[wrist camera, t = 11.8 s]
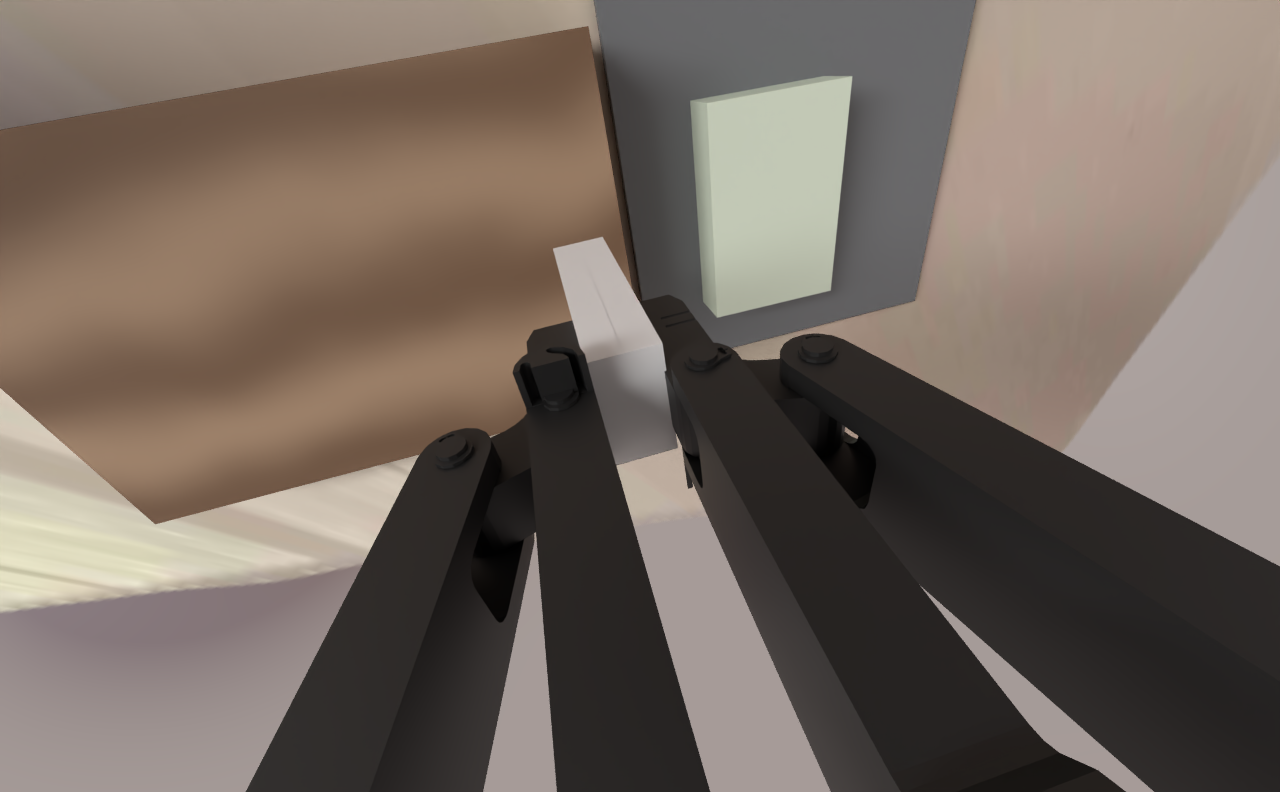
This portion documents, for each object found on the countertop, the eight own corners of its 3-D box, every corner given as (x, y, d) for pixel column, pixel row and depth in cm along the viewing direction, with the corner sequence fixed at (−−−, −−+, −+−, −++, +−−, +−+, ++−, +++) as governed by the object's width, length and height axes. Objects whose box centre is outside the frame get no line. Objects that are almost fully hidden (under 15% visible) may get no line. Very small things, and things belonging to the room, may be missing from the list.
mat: (592, -5, 17) (594, -6, 17) (982, -71, 19) (990, -73, 19) (651, 364, 27) (653, 368, 26) (910, 297, 28) (914, 300, 28)
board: (-90, 152, 16) (-245, 173, 12) (572, 34, 18) (588, 26, 15) (202, 462, 24) (155, 524, 20) (631, 353, 26) (649, 393, 23)
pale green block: (852, 76, 19) (824, 76, 20) (707, 103, 18) (689, 100, 20) (830, 290, 24) (809, 276, 26) (717, 317, 23) (703, 301, 25)
